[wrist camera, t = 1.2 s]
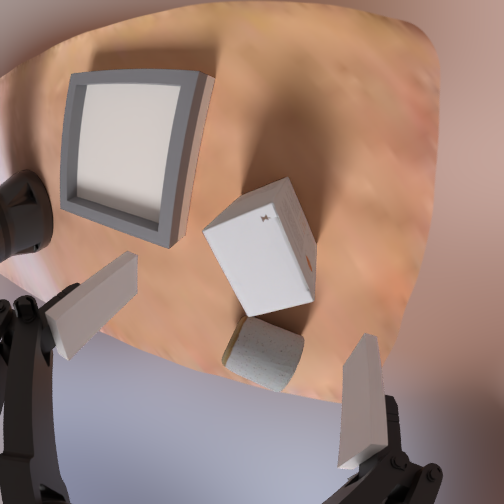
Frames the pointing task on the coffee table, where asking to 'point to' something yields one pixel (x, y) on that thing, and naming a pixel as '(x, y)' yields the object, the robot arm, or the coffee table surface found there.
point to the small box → (266, 249)
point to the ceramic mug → (263, 353)
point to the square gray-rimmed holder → (133, 149)
